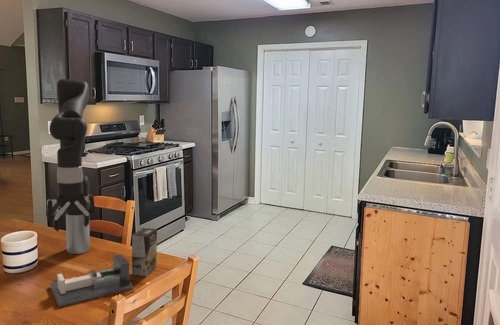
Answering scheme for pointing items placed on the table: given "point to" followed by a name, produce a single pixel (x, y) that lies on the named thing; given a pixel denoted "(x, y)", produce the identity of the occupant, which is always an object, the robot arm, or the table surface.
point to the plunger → (76, 282)
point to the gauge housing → (98, 284)
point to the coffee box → (144, 251)
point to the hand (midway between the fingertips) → (71, 228)
